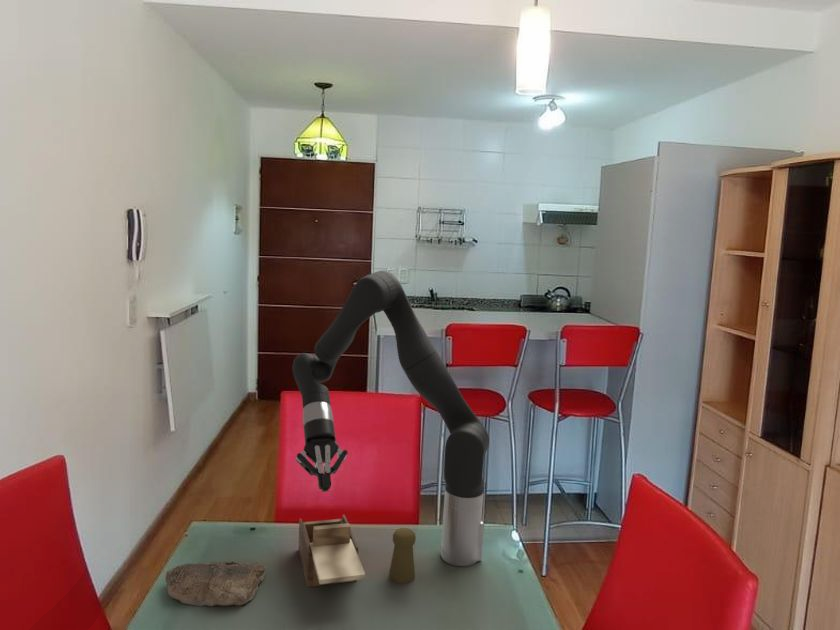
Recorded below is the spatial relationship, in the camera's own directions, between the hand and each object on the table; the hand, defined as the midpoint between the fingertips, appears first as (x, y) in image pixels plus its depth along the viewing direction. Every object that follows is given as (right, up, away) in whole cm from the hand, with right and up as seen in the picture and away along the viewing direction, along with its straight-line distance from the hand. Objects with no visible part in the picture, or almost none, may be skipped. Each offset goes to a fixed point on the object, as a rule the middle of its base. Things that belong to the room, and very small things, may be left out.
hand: (325, 490), depth 152 cm
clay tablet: (-22, -18, -14) cm, 32 cm away
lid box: (+1, -17, -2) cm, 17 cm away
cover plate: (+4, -12, -14) cm, 19 cm away
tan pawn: (+18, -18, -5) cm, 26 cm away
